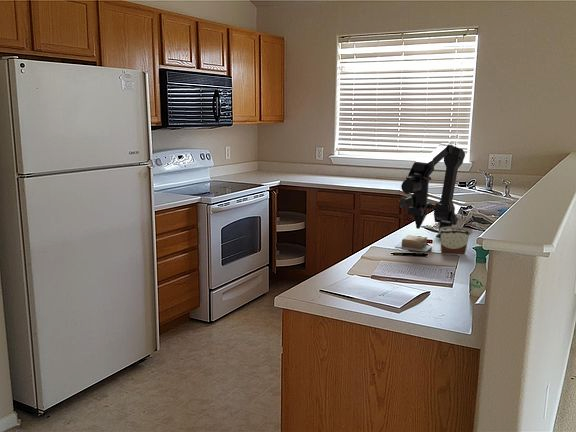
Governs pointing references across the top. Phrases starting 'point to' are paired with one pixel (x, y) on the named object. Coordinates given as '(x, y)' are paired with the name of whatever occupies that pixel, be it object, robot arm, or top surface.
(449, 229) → the food container
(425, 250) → the board
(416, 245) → the wooden block
